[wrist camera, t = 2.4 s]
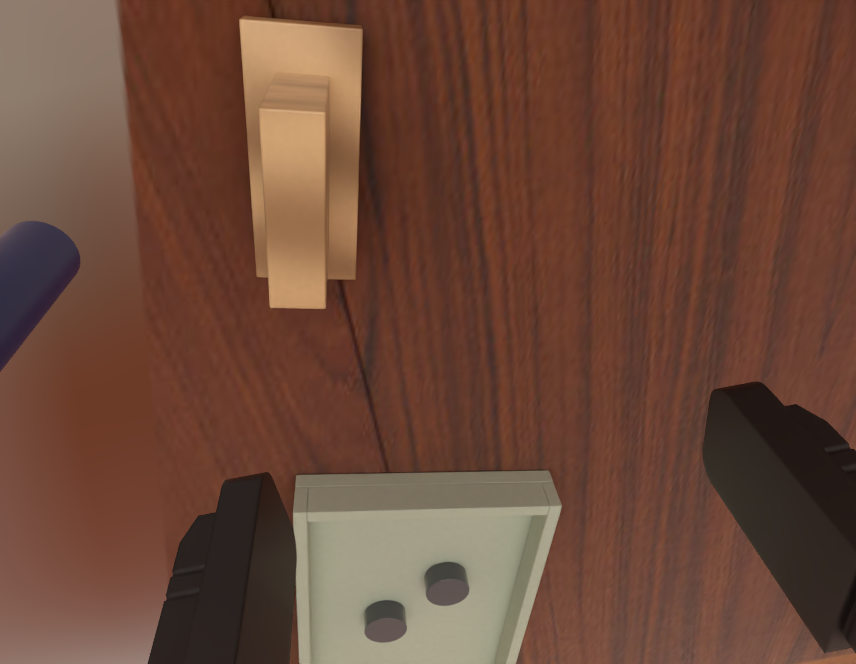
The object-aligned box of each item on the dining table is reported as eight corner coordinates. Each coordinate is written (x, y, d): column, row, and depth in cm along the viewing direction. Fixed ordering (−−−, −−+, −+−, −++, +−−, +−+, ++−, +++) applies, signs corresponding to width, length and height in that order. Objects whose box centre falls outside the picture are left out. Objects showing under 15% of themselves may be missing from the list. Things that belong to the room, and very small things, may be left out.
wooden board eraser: (354, 256, 30) (357, 348, 24) (262, 253, 30) (238, 347, 23) (361, 20, 25) (367, 54, 18) (248, 10, 24) (211, 42, 18)
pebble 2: (422, 589, 44) (424, 607, 43) (425, 562, 42) (427, 580, 41) (463, 587, 44) (466, 605, 43) (468, 560, 43) (472, 578, 41)
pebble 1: (363, 625, 45) (363, 644, 44) (364, 600, 44) (365, 619, 43) (404, 623, 46) (405, 641, 45) (406, 598, 44) (408, 617, 43)
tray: (303, 672, 50) (300, 711, 47) (296, 474, 38) (292, 513, 35) (498, 660, 52) (506, 697, 49) (549, 470, 40) (562, 506, 38)
